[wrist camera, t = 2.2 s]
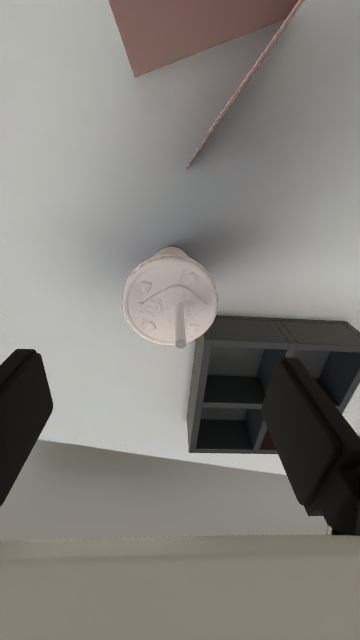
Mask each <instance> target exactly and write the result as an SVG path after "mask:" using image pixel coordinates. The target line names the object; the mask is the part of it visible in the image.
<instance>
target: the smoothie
mask: <svg viewBox="0 0 360 640" xmlns="http://www.w3.org/2000/svg"><path fill="white" fill-rule="evenodd" d="M122 306H123V311H124V315H125V317H126V319H127V321H128V323H129V325H130V326H131V327H132V329H133V330H134V331H135V332H136V333H137V334H139V335H140V336H141V337H143V338H144V339H146V340H148V341H150V342H153V343H156V344H160V345H169V346H172V345H176V347H178V348H184V347H185V346H186V343H188V342H191V341H193V340H195V339H197V338H198V337H200V336H201V335H202V334H204V333H205V332H206V331H207V330H208V328H209V327H210V326H211V324H212V323H213V321H214V319H215V317H216V314H217V309H218V295H217V291H216V286H215V284H214V282H213V279H212V277H211V275H210V274H209V273H208V272H207V271H206V269H205V268H204V267H203V266H202V265H200V264H199V263H197V262H196V261H194V260H193V259H190V258H189V257H188V256H187V255H186V253H185V252H184V251H182V250H181V249H179V248H177V247H166V248H163V249H161V250H160V251H159V252H158V253H157V254H156V255H155V256H154V257H152V258H150V259H148V260H146V261H144V262H142V263H141V264H140V265H138V266H137V267H136V268H135V269H134V270H133V271H132V273H131V274H130V276H129V278H128V279H127V281H126V285H125V288H124V292H123V298H122Z"/></svg>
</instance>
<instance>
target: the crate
mask: <svg viewBox="0 0 360 640" xmlns="http://www.w3.org/2000/svg"><path fill="white" fill-rule="evenodd" d="M282 357H296V358H298V359H299V360H300V361H301V363H302V364H303V365H304V367H305V368H306V369H307V370H308V372H309V373H310V374H311V376H312V377H313V378H314V380H315V381H316V382H317V383H318V385H319V386H320V387H321V389H322V390H323V391H324V392H325V394H326V395H327V396H328V398H329V399H330V400H331V401H332V403H333V404H334V405H335V407H336V408H337V409H338V411H339V412H340V413H341V414H342V413H343V411H344V410H345V408H346V406H347V404H348V402H349V401H350V399H351V397H352V395H353V393H354V392H355V390H356V388H357V386H358V384H359V383H360V332H359V331H358V330H356V329H355V328H354V327H353V326H351V325H350V324H349V323H347V322H340V321H319V320H298V319H277V318H256V317H235V316H216V317H215V319H214V321H213V323H212V324H211V326H210V327H209V328H208V330H207V331H206V332H205V333H204V334H202V335H201V336H200V337H198V338H197V339H196V347H195V355H194V364H193V372H192V381H191V390H190V398H189V407H188V415H187V428H188V444H189V453H243V454H252V453H253V454H278V452H277V450H276V447H275V445H274V443H273V440H272V438H271V435H270V433H269V430H268V428H267V426H266V423H265V421H264V418H263V416H262V404H263V401H264V398H265V395H266V392H267V389H268V385H269V382H270V379H271V376H272V373H273V370H274V366H275V363H276V361H278V360H279V361H280V359H281V358H282Z"/></svg>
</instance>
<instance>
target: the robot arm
mask: <svg viewBox="0 0 360 640" xmlns="http://www.w3.org/2000/svg"><path fill="white" fill-rule="evenodd" d="M52 410H53V401H52V397H51V393H50V389H49V385H48V381H47V377H46V373H45V369H44V365H43V361H42V357H41V355H40V354H39V353H37V352H36V351H35V350H33V349H16V350H15V351H14V352H13V353H12V354H11V355H10V356H9V357H8V358H7V359H6V360H5V361H4V362H3V363H2V364H1V365H0V506H1V505H2V504H3V502H4V501H5V499H6V497H7V495H8V493H9V491H10V489H11V488H12V486H13V484H14V482H15V480H16V478H17V476H18V475H19V473H20V471H21V469H22V467H23V465H24V463H25V461H26V460H27V458H28V456H29V454H30V452H31V450H32V448H33V446H34V445H35V443H36V441H37V439H38V437H39V435H40V433H41V432H42V430H43V428H44V426H45V424H46V422H47V420H48V418H49V417H50V415H51V413H52ZM262 416H263V418H264V421H265V423H266V426H267V428H268V430H269V433H270V435H271V438H272V440H273V443H274V445H275V447H276V450H277V452H278V455H279V457H280V459H281V462H282V464H283V467H284V469H285V471H286V474H287V476H288V479H289V481H290V483H291V486H292V488H293V491H294V493H295V495H296V498H297V500H298V502H299V503H300V504H301V505H304V507H305V510H306V512H307V514H308V516H324V518H325V520H326V522H327V524H328V529H327V534H326V535H256V536H255V535H246V536H183V537H133V538H132V537H130V538H129V537H128V538H83V539H41V540H5V541H4V540H1V541H0V640H360V438H359V436H358V435H357V434H356V433H355V431H354V430H353V429H352V427H351V426H350V425H349V423H348V422H347V421H346V420H345V418H344V417H343V416H342V414H341V413H340V412H339V411H338V409H337V408H336V407H335V405H334V404H333V403H332V401H331V400H330V399H329V398H328V396H327V395H326V394H325V392H324V391H323V390H322V389H321V387H320V386H319V385H318V383H317V382H316V381H315V380H314V378H313V377H312V376H311V374H310V373H309V372H308V370H307V369H306V368H305V367H304V365H303V364H302V363H301V361H300V360H299V359H298V358H296V357H282V358H281V359H280V361H279V360H278V361H276V363H275V366H274V370H273V373H272V376H271V379H270V382H269V385H268V389H267V392H266V395H265V398H264V401H263V404H262Z"/></svg>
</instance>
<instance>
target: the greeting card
mask: <svg viewBox="0 0 360 640" xmlns="http://www.w3.org/2000/svg"><path fill="white" fill-rule="evenodd" d="M303 1H304V0H109V3H110V6H111V9H112V11H113V14H114V17H115V20H116V23H117V26H118V29H119V32H120V35H121V38H122V41H123V44H124V47H125V50H126V53H127V56H128V59H129V61H130V64H131V67H132V70H133V73H134V76H135V77H136V76H139V75H142V74H144V73H147V72H149V71H152V70H155V69H157V68H160V67H162V66H165V65H167V64H170V63H173V62H175V61H178V60H180V59H183V58H185V57H188V56H191V55H193V54H196V53H198V52H201V51H204V50H206V49H209V48H211V47H214V46H216V45H219V44H222V43H224V42H227V41H229V40H232V39H234V38H237V37H240V36H242V35H245V34H247V33H250V32H253V31H255V30H258V29H260V28H263V27H265V26H268V25H271V24H273V23H276V22H278V21H281V20H284V19H286V20H285V21H284V22H283V24H282V25H281V27H280V28H279V30H278V31H277V33H276V34H275V35H274V37H273V38H272V40H271V41H270V43H269V44H268V46H267V47H266V48H265V50H264V51H263V53H262V54H261V56H260V57H259V58H258V60H257V61H256V63H255V64H254V66H253V67H252V69H251V70H250V71H249V73H248V74H247V76H246V77H245V79H244V80H243V82H242V83H241V84H240V86H239V87H238V89H237V90H236V92H235V93H234V95H233V96H232V97H231V99H230V100H229V102H228V103H227V105H226V106H225V108H224V109H223V110H222V112H221V113H220V115H219V116H218V118H217V119H216V120H215V122H214V123H213V125H212V126H211V128H210V129H209V131H208V132H207V134H206V136H205V137H204V139H203V141H202V142H201V144H200V146H199V147H198V149H197V151H196V152H195V154H194V156H193V157H192V159H191V161H192V160H193V159H194V157H195V156H196V154H197V153H198V152H199V150H200V149H201V147H202V146H203V144H204V143H205V142H206V140H207V139H208V137H209V136H210V134H211V133H212V132H213V130H214V129H215V127H216V126H217V124H218V123H219V122H220V120H221V119H222V117H223V116H224V114H225V113H226V112H227V110H228V109H229V107H230V106H231V104H232V103H233V102H234V100H235V99H236V97H237V96H238V94H239V93H240V92H241V90H242V89H243V87H244V86H245V84H246V83H247V82H248V80H249V79H250V77H251V76H252V74H253V73H254V72H255V70H256V69H257V67H258V66H259V64H260V63H261V62H262V60H263V59H264V57H265V56H266V54H267V53H268V52H269V50H270V49H271V47H272V46H273V44H274V43H275V42H276V40H277V39H278V37H279V36H280V34H281V33H282V32H283V30H284V29H285V27H286V26H287V24H288V23H289V22H290V20H291V19H292V17H293V16H294V14H295V13H296V12H297V10H298V9H299V7H300V6H301V4H302V3H303ZM191 161H190V163H191ZM190 163H189V164H190ZM189 164H188V166H189ZM188 166H187V167H188ZM186 169H187V168H186Z"/></svg>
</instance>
